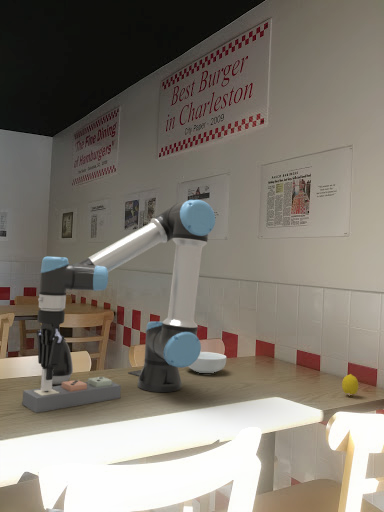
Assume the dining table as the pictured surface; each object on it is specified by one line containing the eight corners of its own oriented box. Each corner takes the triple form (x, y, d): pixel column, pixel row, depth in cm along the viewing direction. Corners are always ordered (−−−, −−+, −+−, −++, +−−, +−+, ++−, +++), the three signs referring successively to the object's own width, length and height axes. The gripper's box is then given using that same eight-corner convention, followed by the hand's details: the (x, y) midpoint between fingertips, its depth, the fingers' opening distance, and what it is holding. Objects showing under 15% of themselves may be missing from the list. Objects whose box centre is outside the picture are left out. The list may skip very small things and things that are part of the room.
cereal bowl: (228, 370, 203) (229, 353, 203) (222, 379, 187) (223, 360, 187) (189, 366, 207) (190, 349, 207) (179, 374, 190) (180, 356, 191)
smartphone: (167, 370, 193) (139, 375, 182) (167, 372, 193) (139, 377, 182) (154, 367, 198) (126, 371, 187) (154, 369, 198) (126, 374, 187)
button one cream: (50, 397, 144) (50, 387, 144) (59, 401, 140) (59, 391, 140) (32, 400, 141) (33, 390, 141) (41, 404, 137) (41, 394, 137)
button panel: (104, 391, 159) (105, 379, 159) (120, 397, 153) (120, 385, 153) (22, 404, 140) (23, 390, 140) (36, 412, 134) (37, 398, 134)
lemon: (358, 396, 173) (359, 373, 173) (356, 399, 168) (358, 376, 168) (342, 393, 175) (343, 371, 175) (340, 397, 170) (341, 374, 170)
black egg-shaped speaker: (76, 380, 171) (78, 337, 171) (65, 387, 161) (68, 342, 161) (48, 378, 172) (51, 335, 172) (36, 385, 162) (39, 339, 162)
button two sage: (102, 384, 157) (102, 375, 157) (111, 388, 153) (112, 379, 153) (87, 387, 153) (87, 377, 153) (96, 391, 149) (97, 381, 149)
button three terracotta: (77, 388, 151) (77, 379, 151) (86, 392, 146) (87, 383, 147) (61, 391, 147) (61, 381, 147) (70, 395, 143) (70, 385, 143)
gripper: (29, 307, 143) (24, 386, 143) (50, 312, 134) (44, 397, 133) (53, 306, 148) (47, 383, 148) (74, 311, 139) (68, 393, 138)
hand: (46, 390), depth 140 cm, fingers closed
